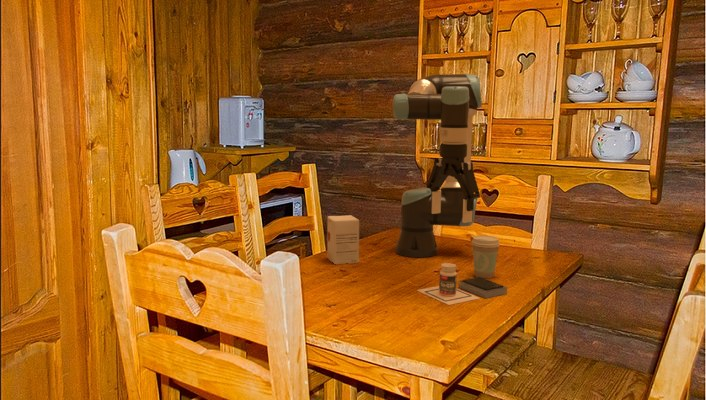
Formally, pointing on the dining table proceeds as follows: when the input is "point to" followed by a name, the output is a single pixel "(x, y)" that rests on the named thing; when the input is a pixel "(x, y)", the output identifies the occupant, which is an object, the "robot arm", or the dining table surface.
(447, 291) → the pill bottle
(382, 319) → the dining table surface
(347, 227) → the supplement box
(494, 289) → the ink pad
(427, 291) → the print card
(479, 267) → the coffee cup
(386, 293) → the dining table surface
